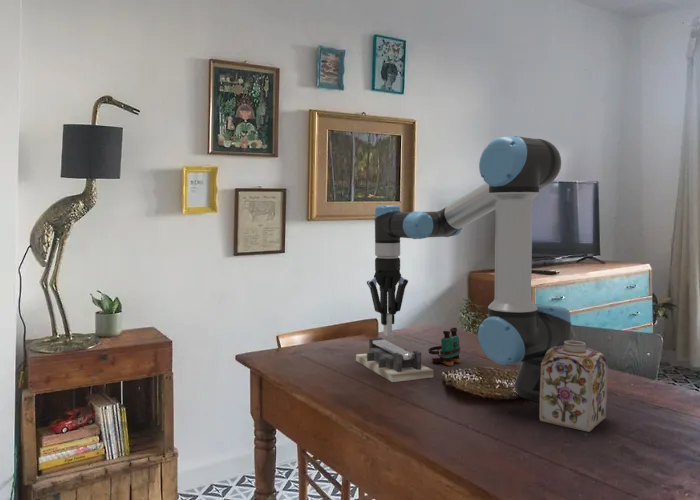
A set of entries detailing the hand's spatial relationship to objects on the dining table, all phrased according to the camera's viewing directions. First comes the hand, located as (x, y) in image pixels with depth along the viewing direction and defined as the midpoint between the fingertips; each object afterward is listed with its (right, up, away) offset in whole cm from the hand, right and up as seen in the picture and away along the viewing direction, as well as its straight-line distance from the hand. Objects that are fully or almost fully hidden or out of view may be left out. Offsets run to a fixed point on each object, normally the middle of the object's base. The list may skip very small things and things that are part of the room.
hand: (387, 335), depth 190 cm
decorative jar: (+39, -13, -46) cm, 62 cm away
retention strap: (+1, -5, -3) cm, 6 cm away
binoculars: (+18, -9, +5) cm, 20 cm away
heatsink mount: (+1, -10, -3) cm, 10 cm away
